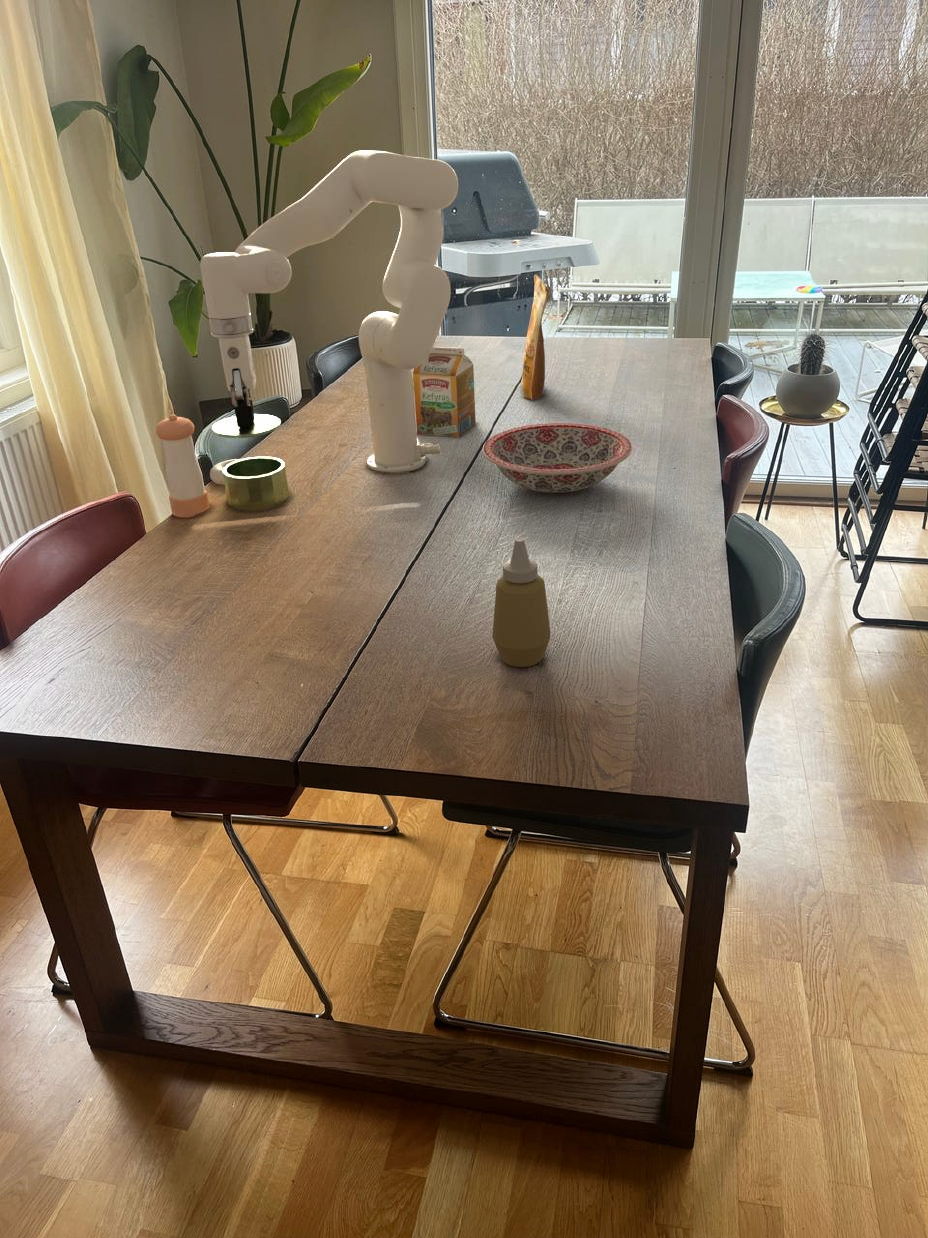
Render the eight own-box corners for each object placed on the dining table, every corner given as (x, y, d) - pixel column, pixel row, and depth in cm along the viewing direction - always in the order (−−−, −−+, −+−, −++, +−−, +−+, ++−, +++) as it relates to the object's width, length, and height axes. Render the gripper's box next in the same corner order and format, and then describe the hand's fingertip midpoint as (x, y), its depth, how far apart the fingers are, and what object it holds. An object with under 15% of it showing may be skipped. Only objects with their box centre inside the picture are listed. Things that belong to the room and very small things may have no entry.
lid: (281, 417, 190) (277, 386, 187) (281, 437, 178) (276, 405, 175) (214, 423, 188) (209, 392, 185) (210, 443, 177) (204, 411, 174)
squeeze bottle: (490, 645, 137) (485, 529, 128) (545, 640, 137) (545, 525, 128) (496, 675, 129) (492, 555, 121) (555, 670, 130) (555, 550, 121)
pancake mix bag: (547, 381, 257) (546, 272, 243) (549, 401, 240) (549, 285, 227) (522, 381, 257) (520, 273, 244) (522, 402, 241) (521, 286, 227)
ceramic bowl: (647, 467, 196) (649, 430, 192) (604, 521, 173) (605, 479, 169) (516, 453, 207) (515, 417, 203) (459, 501, 185) (457, 462, 181)
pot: (289, 486, 196) (284, 454, 193) (289, 508, 186) (284, 474, 182) (229, 492, 195) (224, 460, 191) (226, 514, 184) (220, 480, 181)
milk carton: (417, 433, 222) (411, 351, 213) (435, 420, 231) (430, 340, 222) (458, 437, 219) (454, 353, 209) (475, 423, 227) (472, 342, 218)
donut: (203, 488, 198) (248, 489, 195) (200, 472, 196) (245, 473, 194) (223, 471, 206) (266, 472, 204) (220, 456, 204) (263, 456, 202)
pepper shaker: (190, 520, 182) (171, 422, 173) (164, 513, 186) (143, 418, 177) (218, 507, 188) (200, 411, 178) (191, 501, 191) (173, 407, 182)
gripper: (250, 333, 167) (265, 434, 176) (253, 315, 181) (266, 410, 190) (207, 336, 166) (224, 438, 175) (213, 318, 180) (228, 413, 189)
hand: (246, 422), depth 182 cm, fingers closed on lid, 2 cm apart
